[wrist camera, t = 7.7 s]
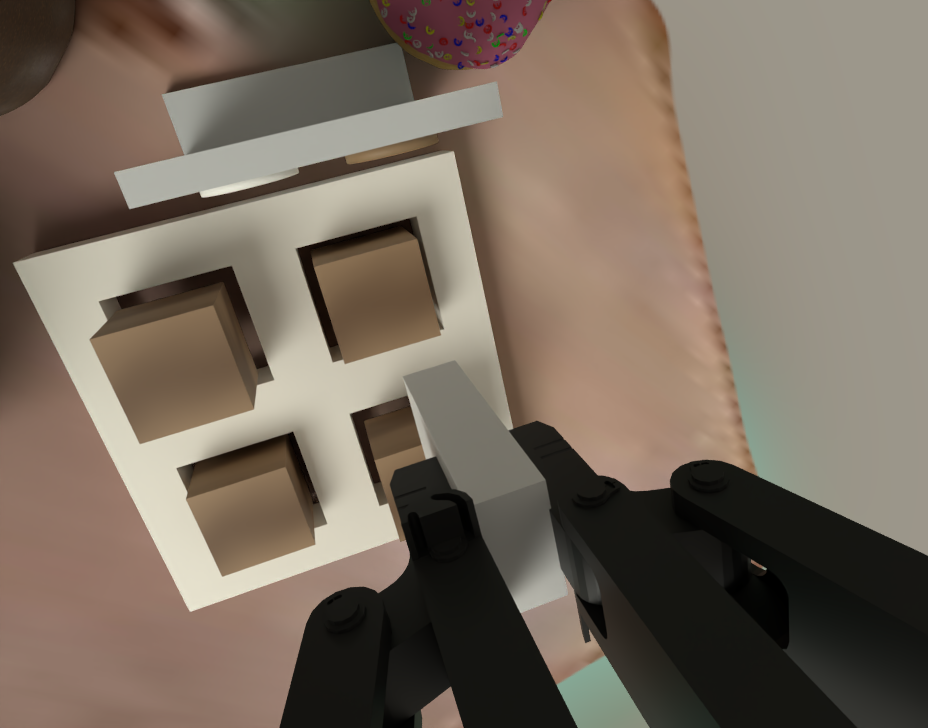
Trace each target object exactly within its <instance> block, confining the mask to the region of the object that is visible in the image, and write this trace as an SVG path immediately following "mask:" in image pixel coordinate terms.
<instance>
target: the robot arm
mask: <svg viewBox="0 0 928 728" xmlns="http://www.w3.org/2000/svg"><path fill="white" fill-rule="evenodd" d="M403 380H404V383H405V387H406V391H407V394H408V398H409V401H410V405H411V408H412V412H413V415H414V419H415V423H416V426H417V430H418V433H419V437H420V440H421V444H422V447H423V451H424V454H425V458H426V460H423V461H420V462H417V463H414V464H411V465H408V466H405V467H402V468H399V469H396V470H395V471H394V474H393V476H392V479H391V482H390V488H391V491H392V494H393V497H394V501H395V504H396V507H397V511H398V514H399V517H400V521H401V526H402V529H403V532H404V536H405V539H406V542H407V545H408V548H409V551H410V559H409V563H408V566H407V568H406V569H405V571H404V573H403V574H402V575H401V576H400V577H399V578H398V579H397V581H395V582H394V583H393V584H391V585H390V586H389V587H387V588H386V589H384V590H383V591H381V592H380V593H377V592H376V591H375V590H373V589H370V588H366V587H350V588H347V589H344V590H341V591H338V592H335V593H334V594H332V595H331V596H329V597H327V598H326V599H324V600H323V601H322V602H321V603H320V604H319V605H318V606H317V607H316V608H315V609H314V610H313V611H312V613H311V615H310V617H309V619H308V621H307V623H306V627H305V630H304V634H303V638H302V642H301V646H300V650H299V654H298V658H297V662H296V665H295V669H294V673H293V677H292V681H291V685H290V689H289V693H288V697H287V700H286V704H285V708H284V712H283V716H282V720H281V724H280V728H422V715H421V709H422V708H423V707H425V706H426V705H427V704H429V703H430V702H431V701H432V700H434V699H435V698H436V697H438V696H439V695H440V694H441V693H443V692H444V691H445V690H447V689H448V688H449V687H450V686H451V688H452V691H453V694H454V697H455V701H456V704H457V707H458V710H459V714H460V717H461V720H462V723H463V727H464V728H578V727H577V725H576V723H575V721H574V719H573V718H572V715H571V714H570V711H569V709H568V707H567V705H566V703H565V701H564V699H563V697H562V695H561V694H560V691H559V690H558V687H557V685H556V683H555V681H554V679H553V677H552V675H551V673H550V671H549V669H548V667H547V665H546V663H545V661H544V659H543V657H542V655H541V653H540V651H539V649H538V647H537V645H536V643H535V641H534V639H533V637H532V635H531V633H530V631H529V629H528V627H527V625H526V623H525V621H524V619H523V617H522V615H521V613H522V612H524V611H527V610H530V609H532V608H535V607H537V606H540V605H543V604H545V603H548V602H550V601H553V600H556V599H558V598H561V597H563V596H566V595H568V591H567V586H566V581H565V576H566V578H567V579H568V581H569V582H570V584H571V586H572V587H573V589H574V592H575V597H576V603H577V608H578V613H579V618H580V624H581V629H582V634H583V637H584V640H585V643H587V642H589V641H591V640H590V635H589V629H590V631H591V633H592V634H593V636H594V638H595V639H596V641H597V642H598V644H599V646H600V647H601V649H602V651H603V652H604V654H605V656H606V657H607V658H608V660H609V662H610V664H611V665H612V667H613V669H614V670H615V672H616V673H617V675H618V677H619V678H620V680H621V682H622V683H623V685H624V687H625V688H626V690H627V691H628V693H629V695H630V696H631V698H632V700H633V701H634V703H635V705H636V706H637V708H638V709H639V711H640V713H641V714H642V716H643V718H644V719H645V720H646V722H647V724H648V726H649V727H650V728H928V556H927V555H925V554H923V553H921V552H919V551H917V550H914V549H912V548H910V547H908V546H906V545H904V544H902V543H899V542H897V541H895V540H893V539H891V538H889V537H887V536H884V535H882V534H880V533H878V532H876V531H873V530H871V529H869V528H867V527H865V526H863V525H861V524H859V523H857V522H854V521H852V520H850V519H848V518H846V517H844V516H842V515H839V514H837V513H835V512H833V511H831V510H829V509H827V508H824V507H822V506H820V505H818V504H816V503H814V502H812V501H809V500H807V499H805V498H803V497H801V496H799V495H796V494H794V493H792V492H790V491H788V490H786V489H783V488H782V487H779V486H777V485H775V484H773V483H771V482H768V481H766V480H764V479H762V478H760V477H758V476H756V475H754V474H752V473H749V472H747V471H745V470H743V469H741V468H739V467H737V466H734V465H732V464H729V463H725V462H722V461H715V460H700V461H693V462H690V463H687V464H684V465H682V466H680V467H679V468H678V469H676V470H675V471H674V472H673V473H672V476H671V479H670V487H671V488H665V489H657V490H650V491H630V490H629V489H628V488H627V487H626V486H625V485H624V484H622V483H621V482H619V481H618V480H616V479H614V478H610V477H606V476H598V475H597V474H596V473H595V472H594V471H593V470H592V469H591V468H590V467H589V465H588V464H587V463H586V462H585V461H584V460H583V459H582V458H581V457H580V456H579V455H578V453H577V452H576V451H575V450H574V449H572V448H571V446H570V445H569V444H568V443H567V441H566V440H564V439H563V437H562V436H561V435H560V434H559V433H558V432H557V431H556V429H555V428H554V427H551V426H549V425H546V424H544V423H541V422H539V421H535V422H532V423H529V424H526V425H523V426H520V427H517V428H514V429H511V430H508V429H507V428H506V427H505V426H504V424H503V423H502V422H501V420H500V419H499V418H498V416H497V415H496V414H495V412H494V411H493V410H492V408H491V407H490V406H489V404H488V403H487V402H486V400H485V399H484V398H483V396H482V395H481V394H480V392H479V391H478V390H477V388H476V387H475V386H474V384H473V383H472V382H471V381H470V379H469V378H468V377H467V375H466V374H465V373H464V371H463V370H462V369H461V367H460V366H459V365H458V363H457V362H456V361H455V360H454V361H450V362H447V363H444V364H441V365H437V366H434V367H431V368H428V369H425V370H421V371H418V372H415V373H412V374H408V375H405V376H403ZM751 559H752V560H753V561H755V562H757V563H758V564H760V565H762V566H763V567H765V568H767V570H763V569H761V568H759V567H757V566H756V565H754V564H752V563H751ZM564 575H565V576H564Z"/></svg>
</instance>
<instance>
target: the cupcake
mask: <svg viewBox="0 0 928 728" xmlns="http://www.w3.org/2000/svg"><path fill="white" fill-rule="evenodd" d="M369 1H370V3H371V5H372V7H373V9H374V11H375V13H376V15H377V16H378V18H379V20H380V22H381V23H382V25H383V26H384V28H385V29H386V31H387V32H388V33H389V34H390V36H391V37H392V38H393V39H394V40H395V41H396V42H397V43H398V45H400V46H401V47H402V48H403V49H404V50H405V51H406V52H408V53H409V54H411V55H412V56H414V57H416V58H418V59H420V60H422V61H425V62H427V63H429V64H431V65H433V66H436V67H438V68H442V69H450V70H466V69H473V68H476V69H488V68H494V67H497V66H498V65H500V64H502V63H504V62H505V61H507V60H509V59H510V58H512V57H513V56H514V55H516V54H517V53H518V52H519V51H520V49H521V48H522V46H523V45H524V43H525V41H526V40H527V38H528V36H529V35H530V33H531V32H532V30H533V29H534V27H535V25H536V24H537V22H538V21H539V20H540V19H541V18H542V15H543V13H544V11H545V9H546V7H547V6H548V4H549V2H550V1H551V0H369Z"/></svg>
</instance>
